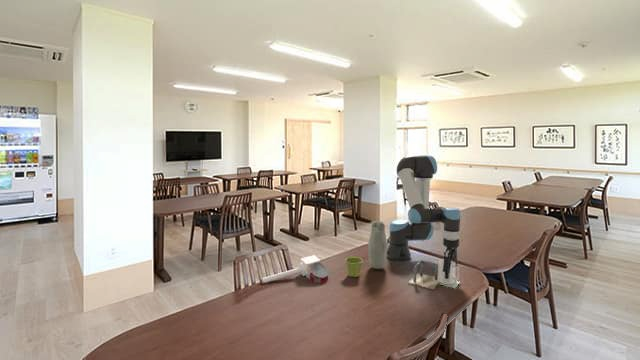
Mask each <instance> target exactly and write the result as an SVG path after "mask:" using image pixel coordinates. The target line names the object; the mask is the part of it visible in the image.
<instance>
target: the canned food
mask: <svg viewBox="0 0 640 360" xmlns="http://www.w3.org/2000/svg"><path fill="white" fill-rule="evenodd" d="M310 270H311V272H309V274H310V277H309V281H310V282H311V283H313V282H314V284H325V283H326V282H327V281H329V271H328V269H327V268H326V266H325V265H323V263H321V261H319V262H316V263H312V264H311V267H310Z"/></svg>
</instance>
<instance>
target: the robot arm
mask: <svg viewBox="0 0 640 360" xmlns="http://www.w3.org/2000/svg"><path fill="white" fill-rule="evenodd" d="M437 172H438V164H437V160H436V158H435V157H434V156H433V155H428V154H427V155H425V154H424V155H422V154H421V155H418V154H417V155H407V156H406V155H405V156H404V157H402V158H401V159H400V160H399V162H398V163H397V166H396V175H397V178H398V179H399V180H400V182H401V185H402V188H403V191H404V193H405V197H406V200H407V203H408V206H409V209H408V210H407V211H408V212H407V219H408V220H407V219H396V220H392V221H391V222H390V223H389V229H388V230H389V244H388V246H387V257H386V259H389V260H393V261H400V262H401V261H408V260H410V259H411V257H412V255H411V249H410V248H409V241H411V242H412V241H413V242H414V241H423V242H424V241H428V240H431V239H432V238H433V234H434V223H435V224H437V223H442V224H443V234H442V235H443V238H442V239H443V240H442V241H443V243H442V244H443V246H444V247H446V249H445V252H444V253H443V259H444V265H443V272H444V284H447V285H450V267H451V261H454V262H455V263H456V264H455V266H458V248H459V247H460V235H461V233H460V231H461V230H460V227H461V210H460V208H457V207H451V206H449V207H442V206H437V207H435V208H433V207H432V208H430V207H429V206H430V205H429V203H430V189H431V188H430V187H431V180H432V179H433V178H434V176H435V175H436V174H437ZM458 267H459V266H458ZM456 271H457V267H455V273H457V272H456Z"/></svg>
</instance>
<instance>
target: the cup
mask: <svg viewBox="0 0 640 360" xmlns="http://www.w3.org/2000/svg"><path fill="white" fill-rule="evenodd" d="M437 264H438V281H439V282H440V283H443V284H444V272H443V265H444V258H443V259H439V260H438V263H437ZM455 264H456V263H455V262H454V261H451V267H450V284H454V283H455V281H458V280H459V279H460V268H459V266H455ZM456 265H457V264H456ZM455 267H456V271H457V272H455ZM456 273H457V275H456Z"/></svg>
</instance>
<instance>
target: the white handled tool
mask: <svg viewBox="0 0 640 360" xmlns="http://www.w3.org/2000/svg"><path fill="white" fill-rule="evenodd" d="M316 262H322V261H321V259H319V257H317V256H316V255H315V254H314V255H309V256H305V257H301V258H300V263H299V267H296V268H293V269H289V270H285V271H282V272H279V273H276V274H272V275H269V276H264V277H262V278H261V282H262V284H266V283H270V282H273V281H277V280H280V279H284V278H288V277H291V276H295V275H297V274H301V275H302V277H305V278H307V279H310V269H309V268H310V267H309V265H313V263H316Z"/></svg>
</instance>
